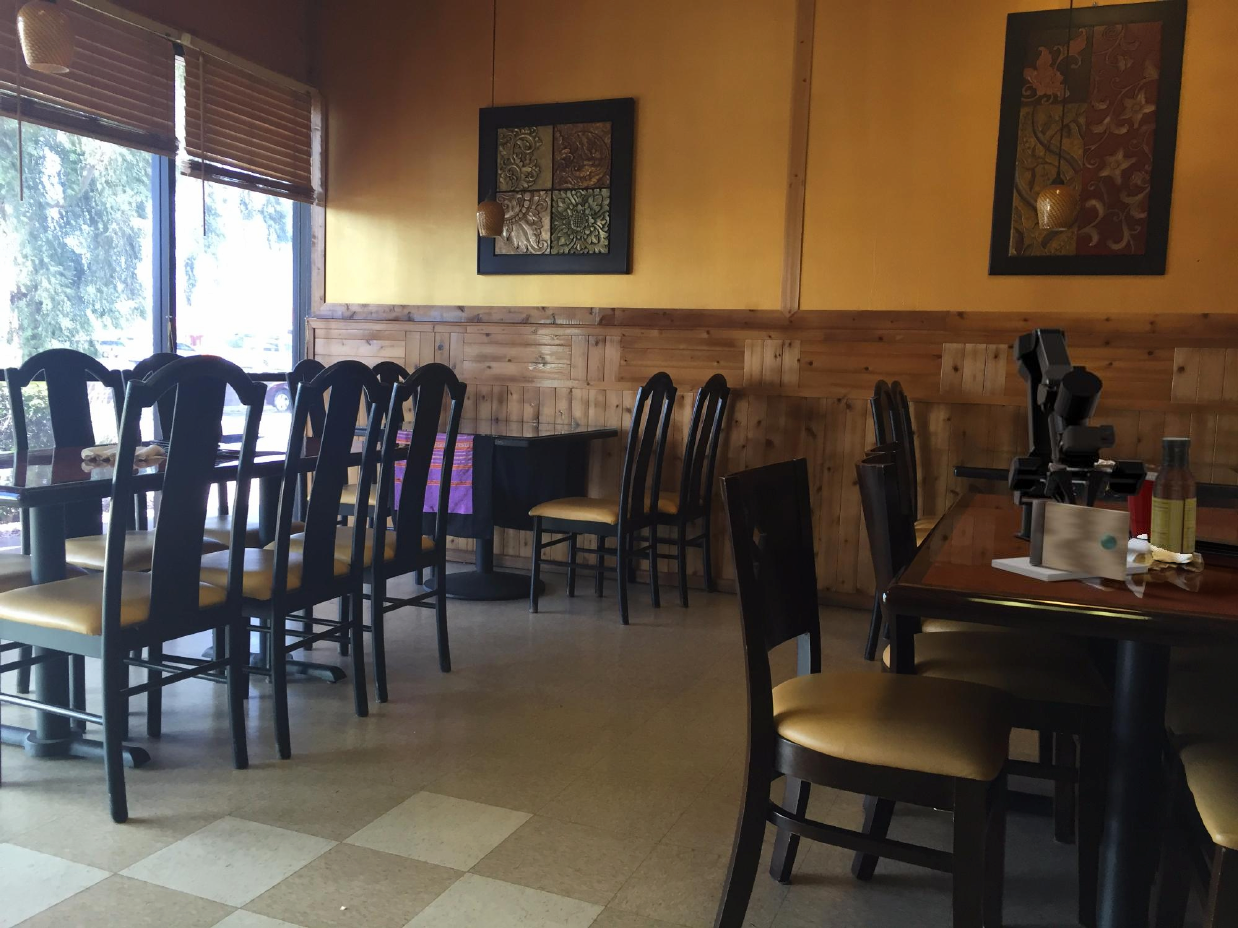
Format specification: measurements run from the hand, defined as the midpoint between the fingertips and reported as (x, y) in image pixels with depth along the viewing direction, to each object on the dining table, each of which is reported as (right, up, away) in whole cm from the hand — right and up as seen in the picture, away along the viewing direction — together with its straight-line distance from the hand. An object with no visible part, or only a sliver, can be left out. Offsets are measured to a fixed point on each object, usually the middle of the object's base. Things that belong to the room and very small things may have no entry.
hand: (1082, 520), depth 146 cm
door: (-3, -7, -3) cm, 8 cm away
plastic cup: (+29, -5, +34) cm, 45 cm away
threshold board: (0, -8, +5) cm, 9 cm away
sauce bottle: (+20, -7, +13) cm, 25 cm away
